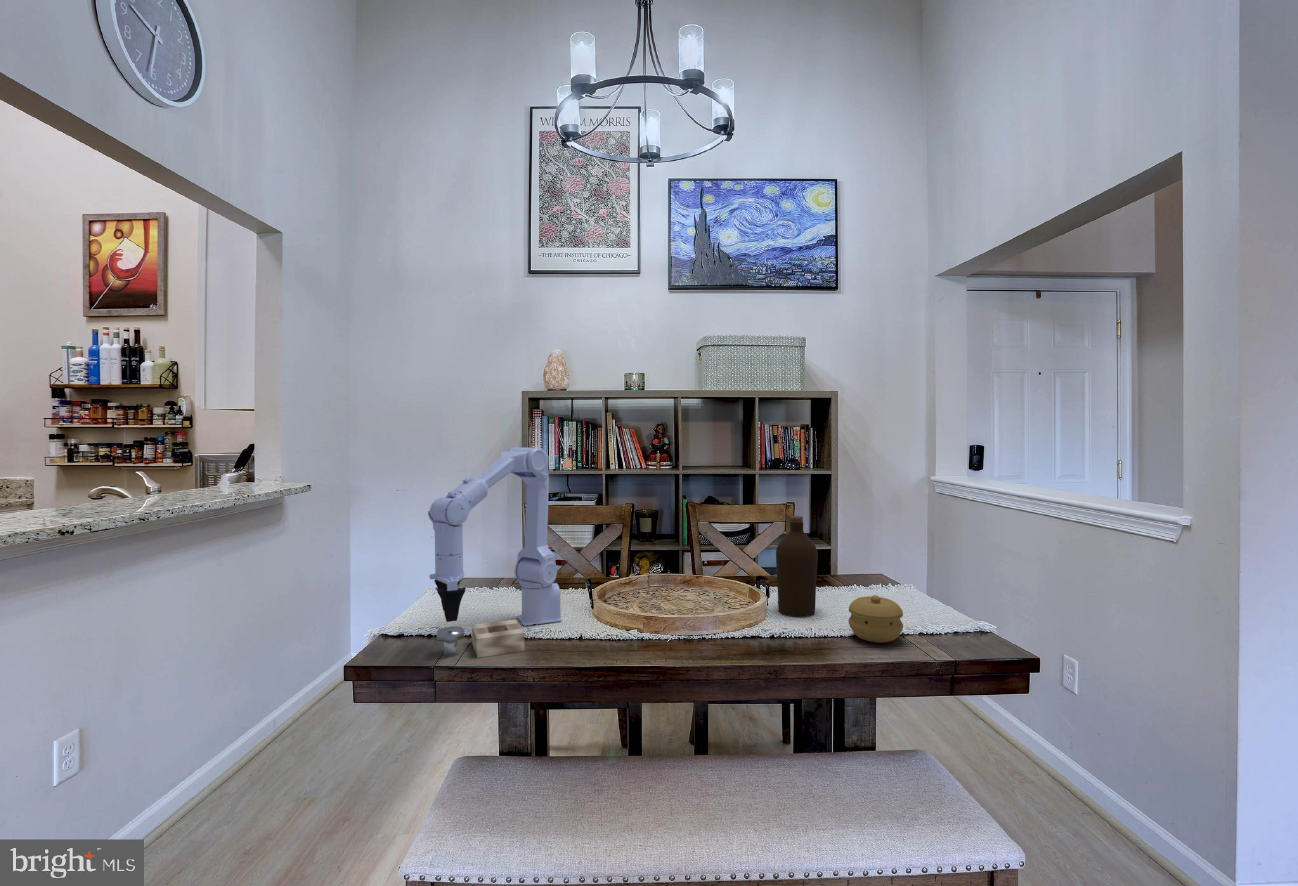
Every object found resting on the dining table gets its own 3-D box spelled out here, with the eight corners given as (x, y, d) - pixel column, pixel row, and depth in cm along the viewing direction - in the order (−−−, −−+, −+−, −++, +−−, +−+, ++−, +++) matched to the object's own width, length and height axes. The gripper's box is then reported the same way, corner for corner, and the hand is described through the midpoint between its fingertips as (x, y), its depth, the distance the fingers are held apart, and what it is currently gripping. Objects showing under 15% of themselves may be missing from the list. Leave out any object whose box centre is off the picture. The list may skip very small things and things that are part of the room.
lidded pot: (879, 628, 148) (879, 586, 148) (915, 644, 137) (915, 600, 137) (837, 633, 144) (837, 591, 144) (870, 651, 133) (870, 605, 133)
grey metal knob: (462, 647, 137) (462, 624, 137) (465, 655, 132) (465, 632, 132) (436, 650, 135) (435, 628, 135) (438, 659, 130) (437, 636, 130)
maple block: (516, 636, 144) (515, 619, 144) (524, 650, 135) (524, 632, 135) (471, 642, 140) (471, 625, 140) (477, 657, 131) (477, 639, 131)
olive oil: (796, 620, 154) (796, 521, 153) (767, 610, 163) (767, 515, 162) (826, 613, 159) (826, 517, 159) (796, 603, 168) (796, 512, 168)
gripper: (427, 548, 138) (428, 608, 138) (431, 561, 125) (432, 628, 125) (460, 546, 141) (461, 605, 141) (467, 558, 127) (468, 623, 128)
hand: (450, 615), depth 133 cm, fingers open, 7 cm apart
